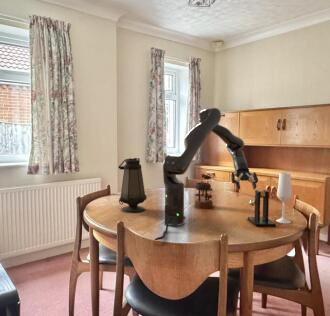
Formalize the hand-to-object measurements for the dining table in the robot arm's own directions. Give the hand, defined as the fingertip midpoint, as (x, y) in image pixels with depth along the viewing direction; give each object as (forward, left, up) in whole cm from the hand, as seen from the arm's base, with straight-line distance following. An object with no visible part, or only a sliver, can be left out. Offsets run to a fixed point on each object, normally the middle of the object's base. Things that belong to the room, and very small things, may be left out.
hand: (247, 188), depth 163 cm
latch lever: (-13, -8, -4) cm, 16 cm away
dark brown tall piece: (-1, +25, -13) cm, 29 cm away
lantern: (-28, +57, -13) cm, 65 cm away
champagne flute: (-10, -20, -13) cm, 26 cm away
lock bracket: (-18, -11, -13) cm, 24 cm away
